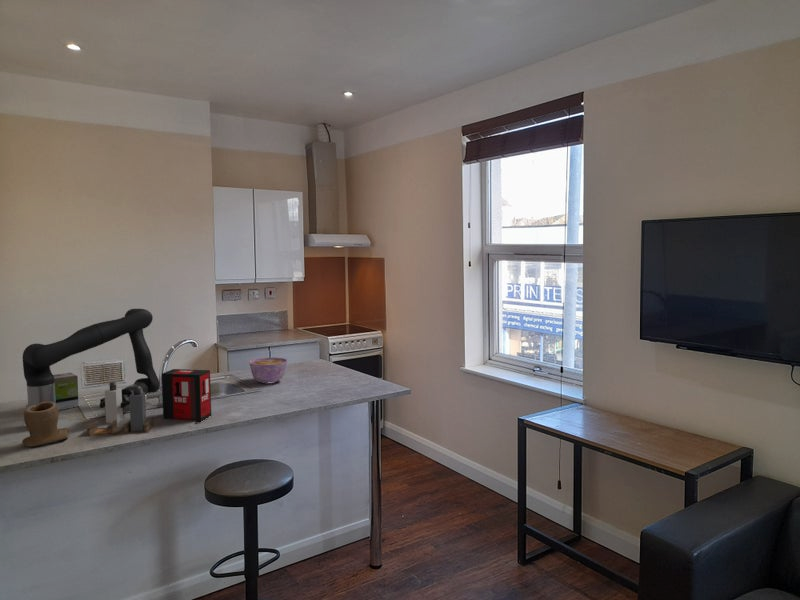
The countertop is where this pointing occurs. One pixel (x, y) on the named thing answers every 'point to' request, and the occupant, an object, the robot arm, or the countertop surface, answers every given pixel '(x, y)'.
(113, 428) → the comb rack
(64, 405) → the tea box
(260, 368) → the bowl of food
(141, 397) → the grey square bottle
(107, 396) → the white square bottle
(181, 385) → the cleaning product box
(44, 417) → the stone cup
